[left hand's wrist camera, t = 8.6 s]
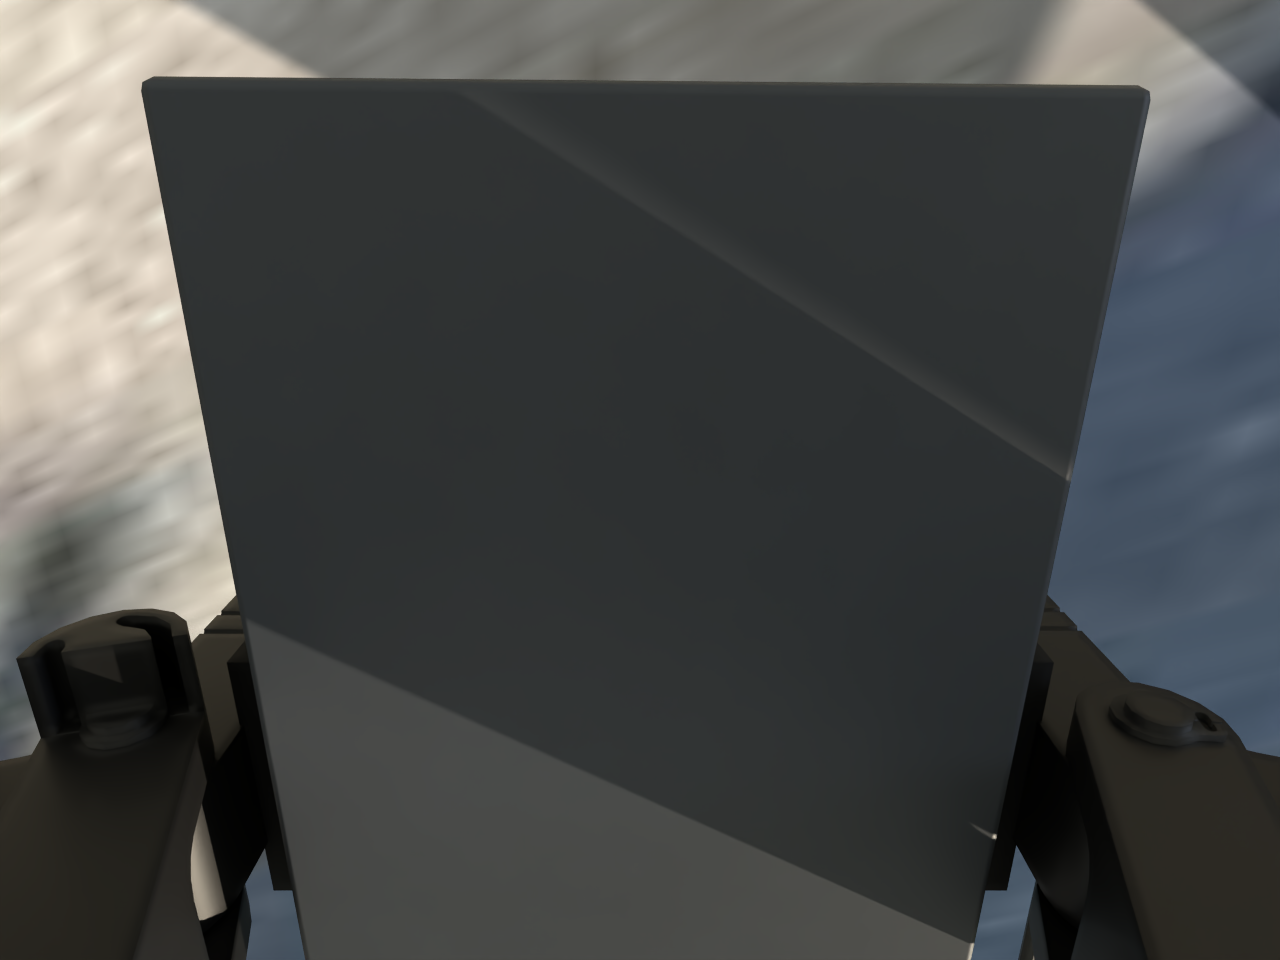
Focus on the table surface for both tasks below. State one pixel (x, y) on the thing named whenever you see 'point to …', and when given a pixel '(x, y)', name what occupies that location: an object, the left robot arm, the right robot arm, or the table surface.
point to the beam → (641, 490)
